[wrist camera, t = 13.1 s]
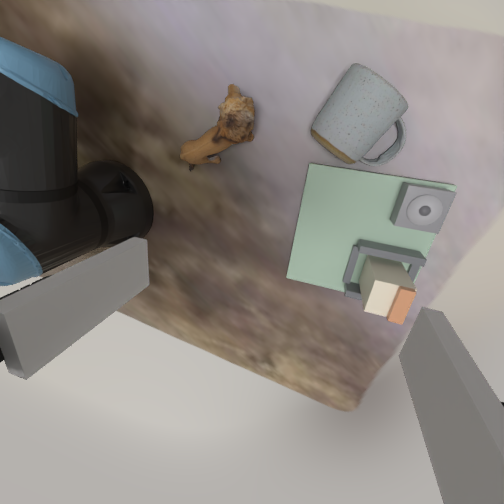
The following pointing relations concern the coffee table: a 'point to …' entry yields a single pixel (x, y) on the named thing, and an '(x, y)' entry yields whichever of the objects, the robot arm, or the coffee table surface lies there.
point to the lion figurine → (223, 130)
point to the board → (348, 222)
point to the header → (381, 251)
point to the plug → (386, 288)
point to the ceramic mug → (360, 117)
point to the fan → (421, 207)
